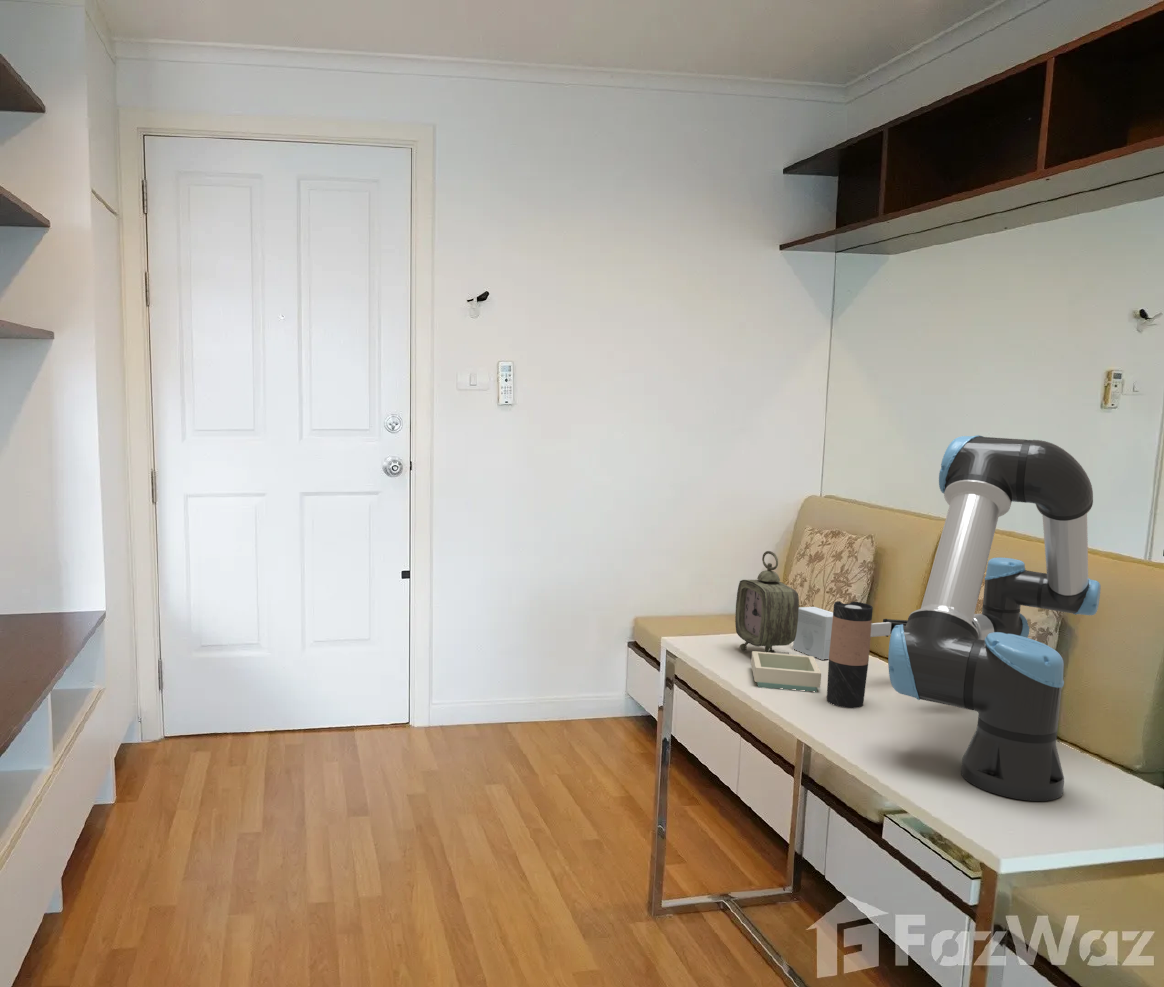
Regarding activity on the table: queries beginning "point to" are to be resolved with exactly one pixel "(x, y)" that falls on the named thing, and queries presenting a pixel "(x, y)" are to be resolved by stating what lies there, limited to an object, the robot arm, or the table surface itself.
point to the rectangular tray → (785, 671)
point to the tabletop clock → (766, 610)
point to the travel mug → (849, 654)
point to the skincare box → (814, 632)
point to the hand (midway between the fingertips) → (888, 639)
